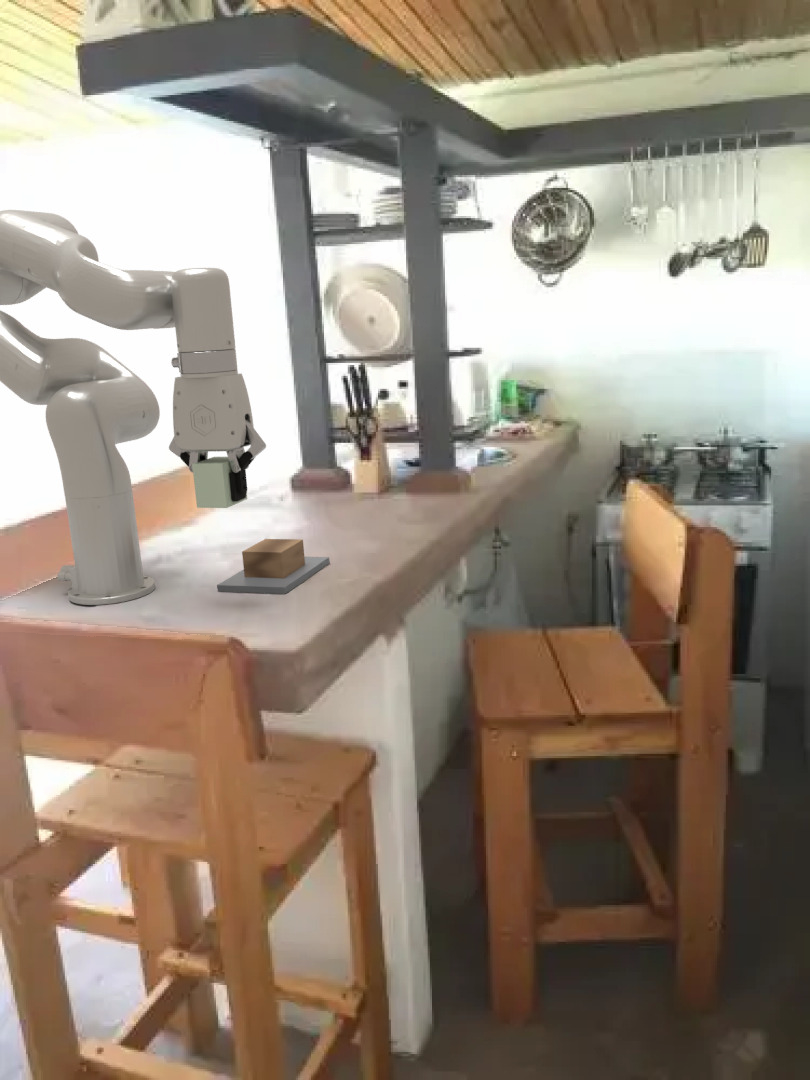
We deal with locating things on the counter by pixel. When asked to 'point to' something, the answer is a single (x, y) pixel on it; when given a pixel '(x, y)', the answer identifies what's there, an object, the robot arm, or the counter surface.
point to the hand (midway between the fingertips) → (222, 498)
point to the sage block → (213, 483)
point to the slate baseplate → (273, 579)
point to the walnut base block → (273, 558)
